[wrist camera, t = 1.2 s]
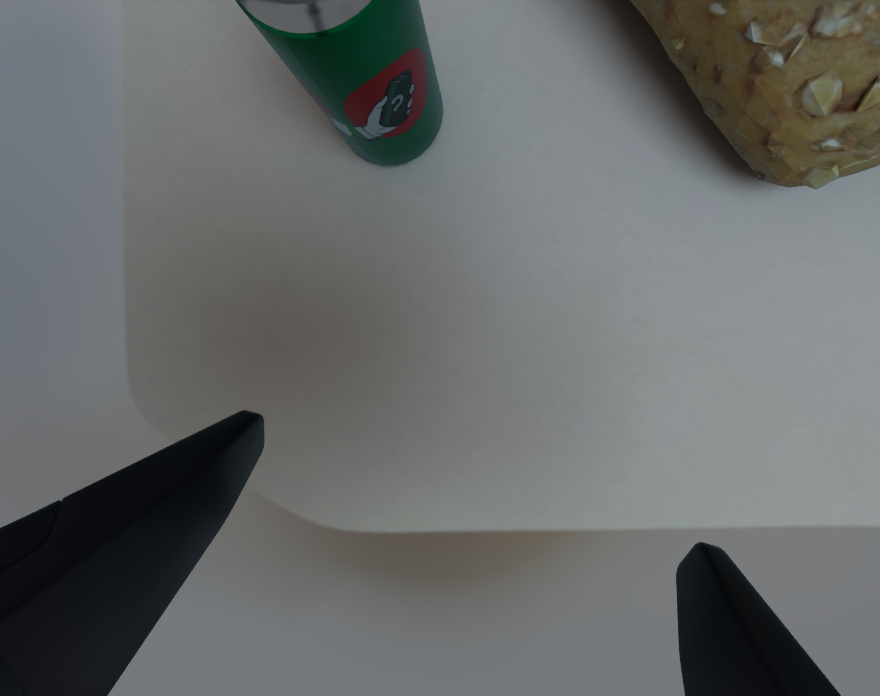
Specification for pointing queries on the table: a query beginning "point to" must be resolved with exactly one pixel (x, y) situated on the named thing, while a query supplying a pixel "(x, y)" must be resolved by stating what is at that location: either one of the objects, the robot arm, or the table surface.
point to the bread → (782, 80)
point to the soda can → (360, 69)
